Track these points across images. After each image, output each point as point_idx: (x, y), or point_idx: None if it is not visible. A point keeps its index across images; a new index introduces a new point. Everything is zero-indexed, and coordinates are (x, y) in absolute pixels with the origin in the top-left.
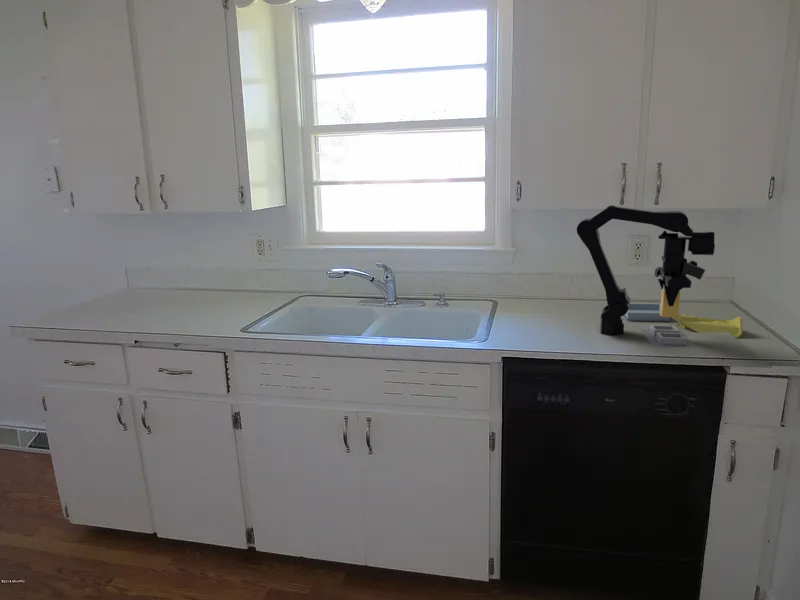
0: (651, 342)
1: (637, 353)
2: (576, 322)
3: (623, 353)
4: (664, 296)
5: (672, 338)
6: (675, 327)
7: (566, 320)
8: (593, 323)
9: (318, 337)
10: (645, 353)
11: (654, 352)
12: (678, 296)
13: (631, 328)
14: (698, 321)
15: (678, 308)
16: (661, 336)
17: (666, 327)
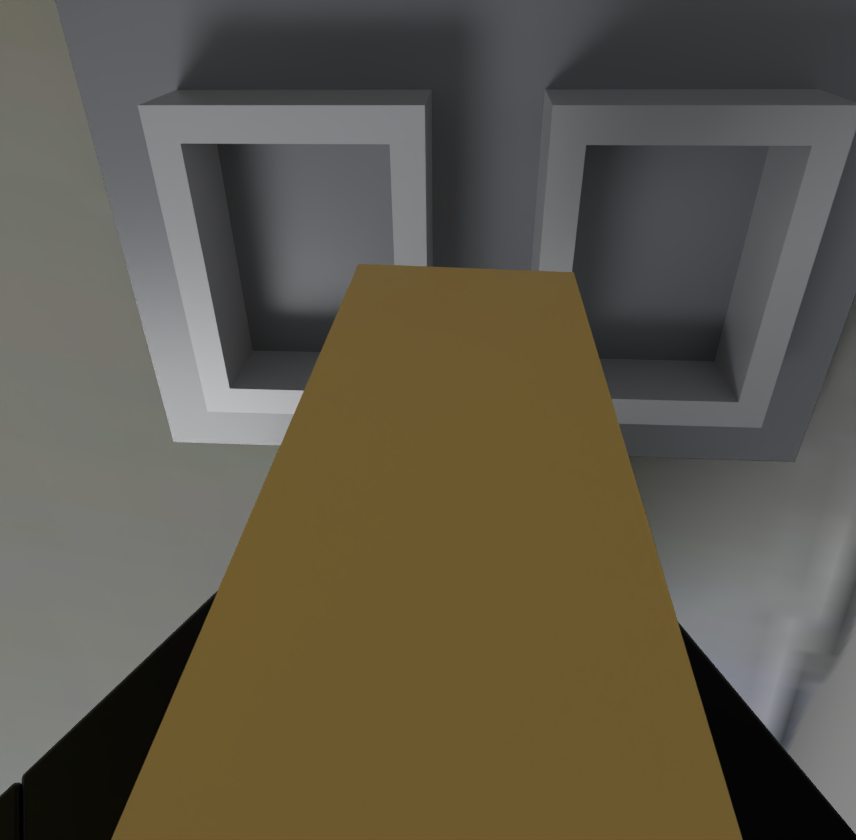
0: (664, 450)
1: (813, 551)
2: (34, 730)
3: (792, 629)
4: None
5: (796, 302)
6: (243, 111)
7: (11, 764)
8: (9, 657)
9: None
10: (827, 500)
11: (814, 428)
12: (683, 719)
13: (35, 445)
14: None
15: (603, 376)
16: (705, 409)
17: (202, 219)
